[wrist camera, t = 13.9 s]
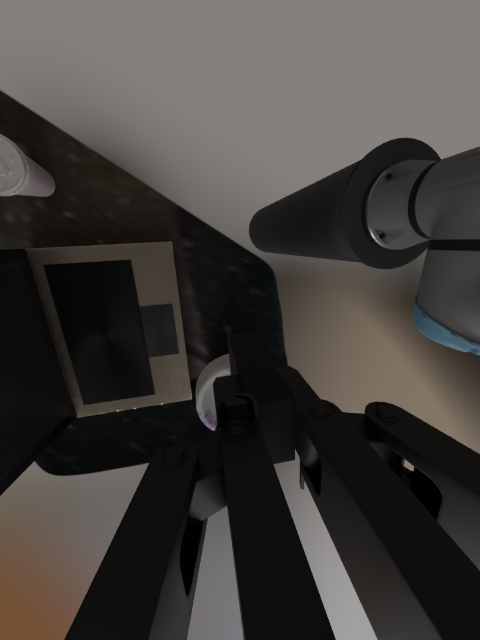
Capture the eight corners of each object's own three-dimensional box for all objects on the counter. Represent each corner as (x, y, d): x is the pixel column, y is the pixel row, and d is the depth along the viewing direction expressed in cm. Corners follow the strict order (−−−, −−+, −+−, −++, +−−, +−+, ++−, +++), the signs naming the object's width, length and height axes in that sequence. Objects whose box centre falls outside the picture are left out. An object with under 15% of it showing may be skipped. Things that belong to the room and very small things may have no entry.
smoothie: (26, 146, 34) (-77, 86, 21) (73, 177, 36) (7, 139, 23) (7, 188, 35) (-102, 155, 22) (54, 216, 37) (-20, 200, 24)
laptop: (172, 241, 41) (171, 241, 40) (192, 394, 50) (192, 399, 49) (33, 248, 38) (25, 248, 36) (81, 411, 47) (77, 417, 45)
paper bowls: (187, 405, 51) (186, 432, 44) (206, 338, 48) (209, 356, 40) (254, 414, 55) (264, 441, 48) (276, 354, 52) (291, 372, 44)
